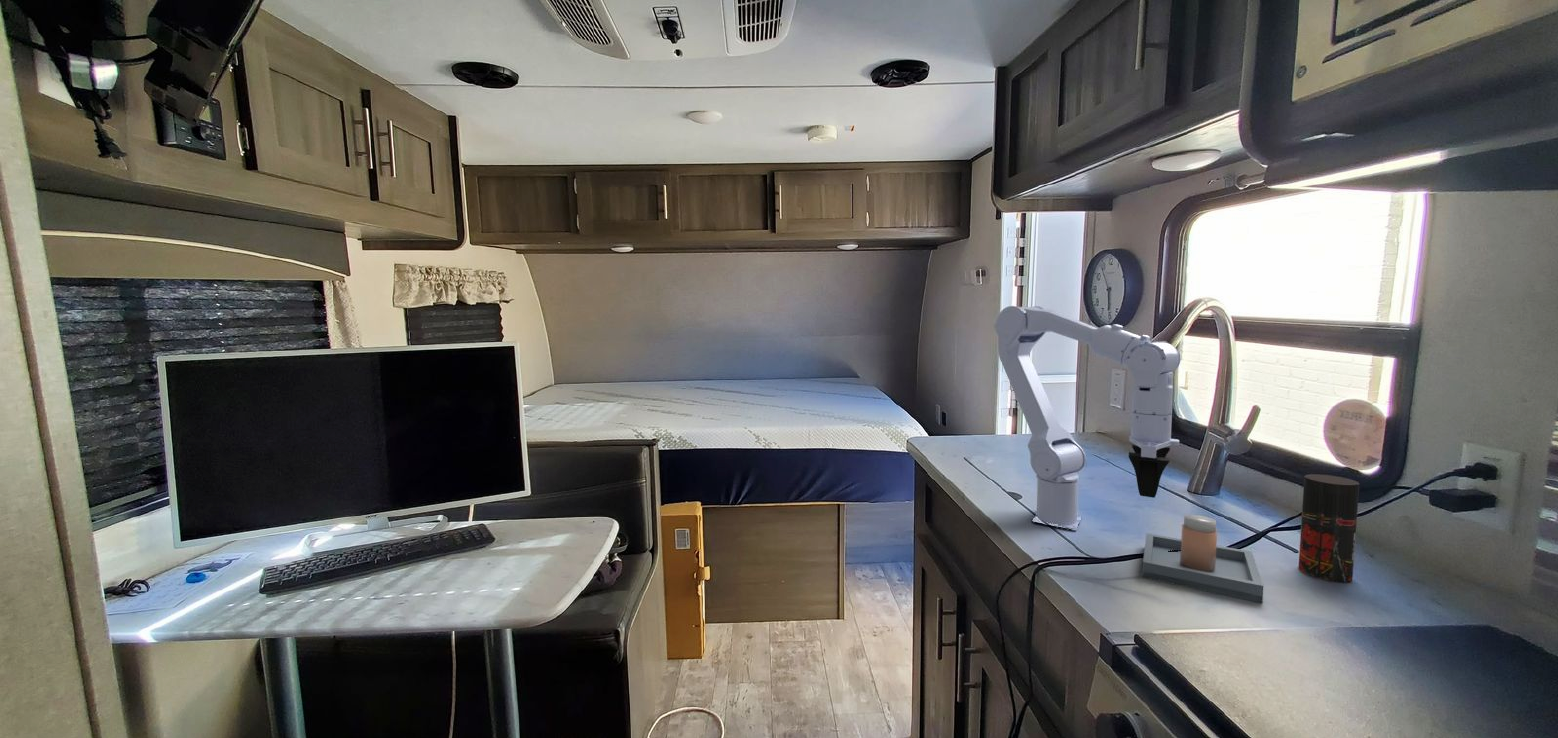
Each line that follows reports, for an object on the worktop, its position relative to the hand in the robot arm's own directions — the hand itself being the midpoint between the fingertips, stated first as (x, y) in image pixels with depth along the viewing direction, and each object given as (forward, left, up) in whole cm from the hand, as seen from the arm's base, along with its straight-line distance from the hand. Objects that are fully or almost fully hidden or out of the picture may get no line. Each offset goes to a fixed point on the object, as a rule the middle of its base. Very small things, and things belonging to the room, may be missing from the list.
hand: (1148, 490), depth 94 cm
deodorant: (-4, +23, -11) cm, 26 cm away
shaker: (+6, +7, -9) cm, 13 cm away
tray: (+6, +7, -10) cm, 14 cm away
